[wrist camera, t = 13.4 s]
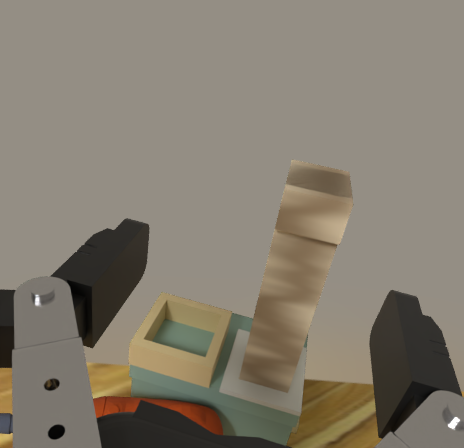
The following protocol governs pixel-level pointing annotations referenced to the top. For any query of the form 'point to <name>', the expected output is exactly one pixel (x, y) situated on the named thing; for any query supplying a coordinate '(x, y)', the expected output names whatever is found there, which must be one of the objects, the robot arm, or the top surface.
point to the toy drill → (129, 404)
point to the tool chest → (210, 368)
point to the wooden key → (296, 271)
